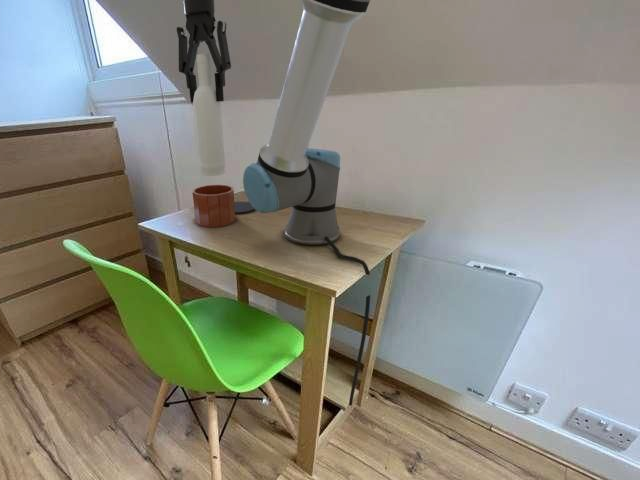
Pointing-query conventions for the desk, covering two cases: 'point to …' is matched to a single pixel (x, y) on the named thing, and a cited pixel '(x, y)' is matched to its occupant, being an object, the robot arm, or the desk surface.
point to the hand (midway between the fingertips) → (207, 101)
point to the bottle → (208, 121)
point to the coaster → (243, 207)
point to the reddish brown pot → (214, 205)
